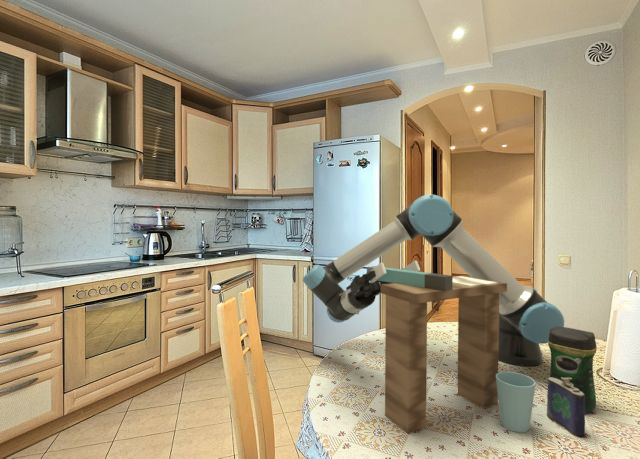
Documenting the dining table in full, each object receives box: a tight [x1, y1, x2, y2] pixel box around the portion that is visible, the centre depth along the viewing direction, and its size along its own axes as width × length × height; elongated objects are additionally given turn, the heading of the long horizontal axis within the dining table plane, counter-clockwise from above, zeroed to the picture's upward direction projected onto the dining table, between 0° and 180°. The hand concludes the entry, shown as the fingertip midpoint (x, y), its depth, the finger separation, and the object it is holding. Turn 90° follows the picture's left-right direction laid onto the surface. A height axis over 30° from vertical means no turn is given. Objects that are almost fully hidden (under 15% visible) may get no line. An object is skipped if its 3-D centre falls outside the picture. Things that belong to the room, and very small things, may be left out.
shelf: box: [380, 275, 507, 434], centre depth 86 cm, size 28×12×30 cm, turn 116°
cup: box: [496, 371, 537, 434], centre depth 80 cm, size 8×8×10 cm
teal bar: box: [366, 265, 454, 291], centre depth 86 cm, size 3×22×3 cm, turn 41°
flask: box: [546, 376, 586, 439], centre depth 80 cm, size 9×3×11 cm, turn 8°
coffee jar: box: [547, 326, 598, 413], centre depth 89 cm, size 10×8×19 cm
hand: (401, 266), depth 89 cm, fingers open, 10 cm apart
